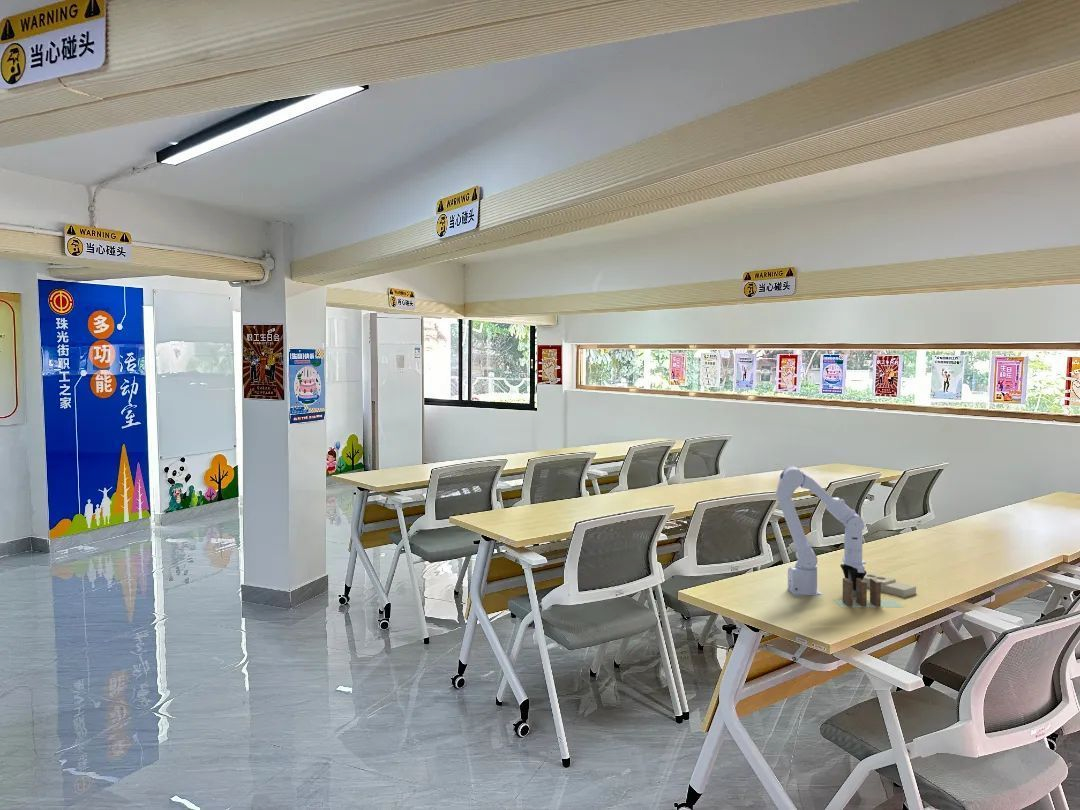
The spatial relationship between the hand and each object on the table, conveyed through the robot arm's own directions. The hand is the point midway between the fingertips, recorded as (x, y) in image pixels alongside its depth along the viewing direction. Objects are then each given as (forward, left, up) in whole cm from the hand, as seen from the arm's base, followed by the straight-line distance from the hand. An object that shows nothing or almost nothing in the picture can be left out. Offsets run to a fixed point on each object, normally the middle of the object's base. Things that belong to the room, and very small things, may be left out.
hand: (853, 587), depth 252 cm
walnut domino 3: (+3, -11, -2) cm, 12 cm away
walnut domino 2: (-2, -11, -2) cm, 11 cm away
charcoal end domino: (0, 0, -2) cm, 2 cm away
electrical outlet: (+13, +6, -3) cm, 15 cm away
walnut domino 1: (-6, -11, -2) cm, 13 cm away
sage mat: (+1, -10, -2) cm, 11 cm away
